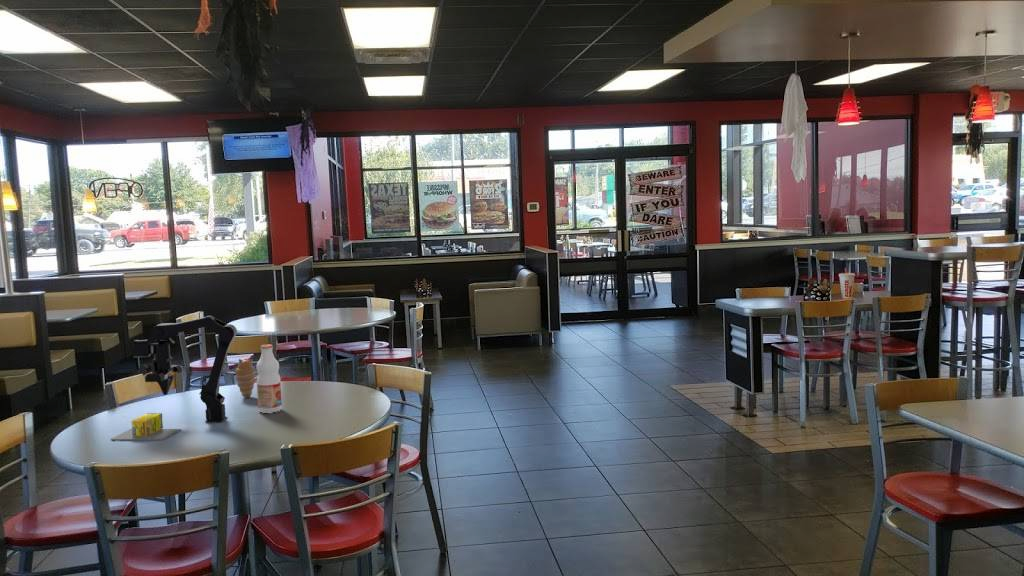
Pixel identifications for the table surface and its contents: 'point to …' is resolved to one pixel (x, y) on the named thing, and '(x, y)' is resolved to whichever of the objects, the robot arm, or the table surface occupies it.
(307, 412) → the table surface
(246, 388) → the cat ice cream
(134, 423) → the supplement box
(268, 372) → the fruit juice
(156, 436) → the mat
